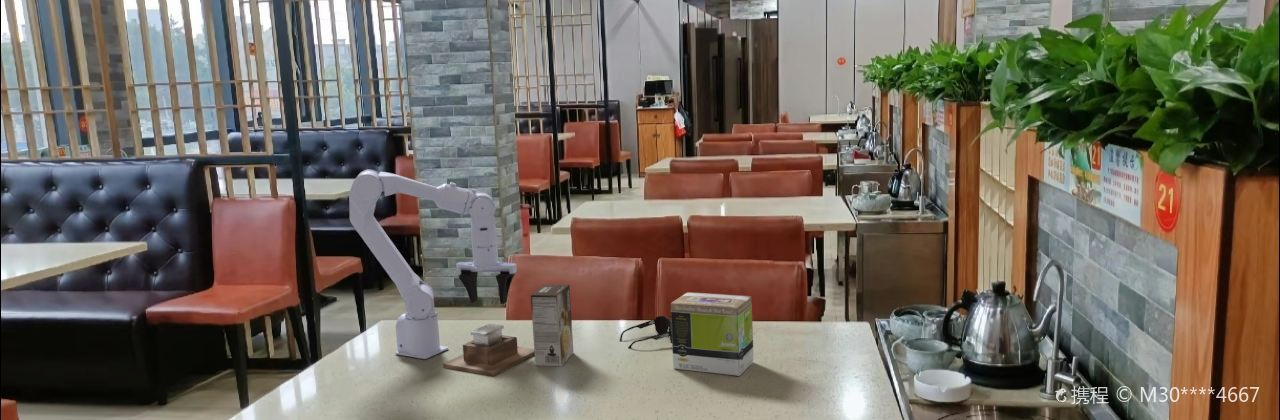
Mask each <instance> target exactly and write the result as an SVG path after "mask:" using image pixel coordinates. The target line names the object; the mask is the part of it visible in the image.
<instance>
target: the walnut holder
mask: <svg viewBox="0 0 1280 420" xmlns="http://www.w3.org/2000/svg"><path fill="white" fill-rule="evenodd" d="M533 356H535V353H534V348H529V347H523V346H518V338H517V337H516V336H510V335H503V334H502V342H500V343H498V344H496V345H494V346H492V347H487V346H481V345H474V339H472V340H470V341H468V342H466V343H464V344H462V354H461V355H459V356H457V357H454V358H452V359H450V360H448V361H445V362H444V363H442V367H443V368H444V369H452V370H456V371H457V370H458V371H461V372H468V373H474V374H479V375H485V376H490V377H494V376H497V375H498V374H500V373H502V372H504V371H506V370H508V369H510V368H512V367H514V366H515V365H518V364H520V363H522V362H523V361H526V360H528V358H531V357H533Z"/></svg>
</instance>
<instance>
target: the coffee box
mask: <svg viewBox="0 0 1280 420" xmlns="http://www.w3.org/2000/svg"><path fill="white" fill-rule="evenodd" d="M530 304H531V305H530V306H531V308H530V309H531V320H532V333H533V335H532V336H533V349H534V353H535V355H534V365H535V366H540V367H541V366H542V367H543V366H545V367H549V366H550V367H562V366H564V364H565V363H566V362H567V361H568V360H569V358H570V357H571V356H572V355H573V354H574V340H573V339H574V336H573V322H572V321H573V320H572V306H571V305H572V303H571V290H570V284H542V285H541V286H540V287H539V288H537V290H535V291H534V292H533V293H531V294H530Z"/></svg>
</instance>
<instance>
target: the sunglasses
mask: <svg viewBox="0 0 1280 420" xmlns="http://www.w3.org/2000/svg"><path fill="white" fill-rule="evenodd" d="M652 325H654V328H655V333H657V334H655V335H652V336H649V337H645V338H642V339H637V340H635V341H632V343H630V345H628V348H627V349H632V346H633V345H634V344H636V343H639V342H642V341H647V340H655V341H657V340H661V339H664V338H667V337H669V341H670V343H671V344H672V326H671V318H669V317H668V316H666V315H658V316H656V317H655V318H654V319H653V318H652V319H651V320H650V319H649V320H648V321H644V322H643V323H640V324H636V325H633V326H631V327H628V328H626V329H625V330H623V331H622V332H621V334H620V337H619V342H622V341H623V335H624V333H626V332H628V331H630V330H633V329H634V328H638V329H640V330H641V329H644V328H647V327H649V326H652Z"/></svg>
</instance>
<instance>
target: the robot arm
mask: <svg viewBox="0 0 1280 420" xmlns="http://www.w3.org/2000/svg"><path fill="white" fill-rule="evenodd" d="M382 192H384V197H388V196H389V197H390V196H392V195H395V194H404V195H408V196H413V197H417V198H420V199H424V200H429V201H433V202H434V204H435V206H437V208H438V209H442V210H446V211H448V212H449V211H450V212H454V213H456V214H461V215H464V216H465V215H470V219H471V221H470V222H471V224H470V225H471V226H470V236H471V237H470V238H471V250H472V261H464V262H463V261H459V262H457V263H456V264H455V268H456V269H455V270H456V273H460V274H459V275H458V279H459V280H460V282H461V283H462V285H463V286H464V288H465V290H466V292H467V295H468V297H469V301H470V303H471V304H474V303H476V302H477V301H478V296H479V295H478V285H477V284H478V273H497V274H496V275H495V279H496V283H497V286H498V292H499V302H500V305H504V304H505V303H508V296H509V291H510V287H511V284H512V281H513V278H514V277H515V275H516V274H515V273H517V272H518V271H517V270H518V269H517V267H518V266H517V263H512V262H511V263H510V262H504V261H499V255H498V253H499V252H498V251H499V250H498V238H497V225H496V224H495V221H496V217H495V213H496V210H497V209H496V208H497V206H496V205H495V202H494V200H493V198H492V197H491V195H489V194H488V193H485V192H484V191H482V190H481V191H477V189H474V188H472V189H471V190H470V189H467V188H464V187H460V186H457V184H456V183H454V182H453V181H450V183H449V184H448V183H443V184H441V185H439V186H434V185H431V184H428V183H424V182H421V181H419V180H415V179H413V178H409V177H406V176H402V175H400V174H395V173H392V172H386V171H377V170H375V169H364V170H363V171H361V172H359V174H357V176H356V177H355V178H354V180H353V182H352V184H351V186H350V190H349V191H348V198H349V199H348V200H349V203H348V205H349V221H350V223H351V225H352V227H354V230H355V231H356V232H357V233H358V235H359V236H360V237H361V238H362V240H363V242H364V243H365V244H366V246H367V247H368V248H369V250H370V252H371V253H372V254H373V255H374V257H375V258H376V260H377V261H378V262H379V264H380V265H381V267H382V268H383V270H384V271H385V273H387V275H388V276H389V278H390V279H391V281H392V282H393V283H394V284H395V286H396V288H397V290H398V292H399V295H400V296H401V298H402V299H403V302H404V305H405V311H406V312H404V313H402V314H400V316H399V317H398V318H397V321H396V323H395V335H396V347H397V350H396V351H394V354H395V355H400V356H405V357H406V356H407V357H410V358H417V359H422V360H427V359H429V358H431V357H433V356H436V355H438V354H440V353H442V352H445V351H448V350H449V347H448V346H447V345H446V346H445V345H441V343H440V341H441V340H440V329H439V317H438V316H439V315H438V310H436V309H435V301H434V299H435V292H434V289H433V287H432V286H431V285H430V284H428V283H426V282H424V281H423V280H422V279H421V277H420V276H419V275H418V274H416V273H415V271H414V270H413V269H412V268H411V266H410V265H409V264H408V262H407V261H406V259H405V258H404V256H403V255H402V254H401V252H400V251H399V249H397V247H396V245H395V243H394V242H393V241H392V239H390V237H389V236H388V234H387V233H386V231H385V230H384V228H383V227H382V226H381V224H380V223H379V222H378V221H377V218H376V217H375V215H374V214H375V210H376V206H377V202H378V200H379V199H380V197H381V195H382Z"/></svg>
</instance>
